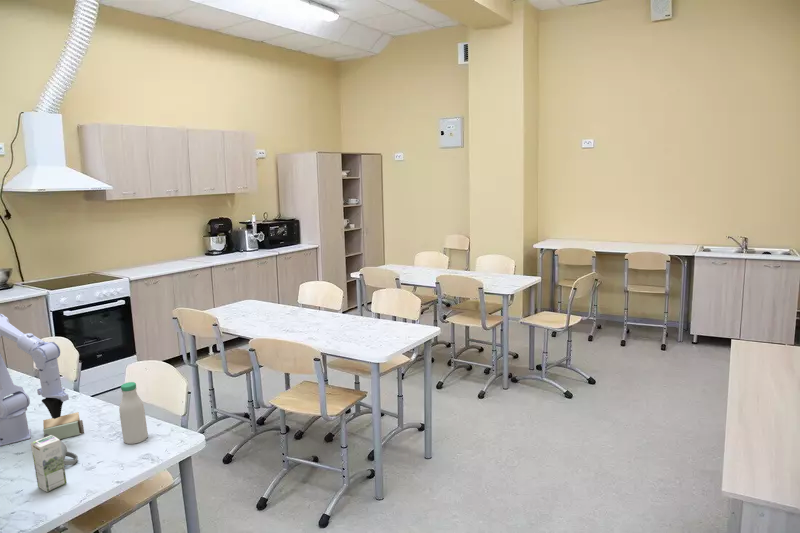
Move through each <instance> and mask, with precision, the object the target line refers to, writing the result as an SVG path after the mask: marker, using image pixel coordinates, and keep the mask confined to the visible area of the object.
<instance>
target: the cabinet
mask: <svg viewBox="0 0 800 533" xmlns="http://www.w3.org/2000/svg"><path fill="white" fill-rule="evenodd" d="M76 421H78V426H79V433H80V434H81V435H84V434H85V429H84V428H85V427H84V423H83V422H84V421H83V420H82V419H80V413H79V412H78V411H77V412H72V413H69V414H64V415H61V416H60V417H58V418H56V419H53V418H52V417H51V418H47V419H43V429H46V428H51V427H55V426H59V425H63V424H67V423H72V422H76Z"/></svg>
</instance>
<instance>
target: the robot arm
mask: <svg viewBox="0 0 800 533" xmlns="http://www.w3.org/2000/svg"><path fill="white" fill-rule="evenodd" d="M1 337H4V338H6V339H9V340H10V341H13V342H15V343H16V346H17V348H18V349H20V350H21V351H22V352H24V353H26V354H28V355H29V356H31V357H30V358H31V359H32V361H33V363H34V364H35V367H36V369H37V370H38V376H39V382H40V388H36V391H37V395H38V396H41V397H42V398H43V399H41V402H42V404H44V406H45V407H46V408H47V410H48V412H49V414H50V416H51V418H53V419H56V418H58V417H60V416H62V415H61V414H62V408H63V405H64V402H66V401H69V400H70V399H69V394H68V393H67V392H66V387H64V386H62V381H61V375H60V370H59V362H58V358H59V357H60V355H61V349H60V346H59V345H58V344H57V343H55V342H54V341H44V340H42V339H41V338H39V337H37V336H36V335H34V334H33V333H32V332H30V333H29V332H27V333H24V332H22V331H21V330H20V329H18V328H17V327H16V326H14V325H13V324H11V323H10V319H9V318H8V317H7V316H6V315H4V314H3V313H0V338H1ZM30 404H31V401H30V397H29V395H28V394H27V393H26V391H25V389H24V388H23V387H22V386H19V385H16V384H14V382H13V380H12V377H11V375H10V372H9V370H8V367H7V366H6V363H5V360H4V358H3V356H2V354H1V352H0V447H2V446H5V445H9V444H14V443H18V442H22V441H26V440H30V439H31V437H32V436H31V435H32V432H31V431H32V430H31V429H30V428H29V425H28V424H29V423H28V419H27V413H26V412H27V411H28V407H29V406H30Z"/></svg>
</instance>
